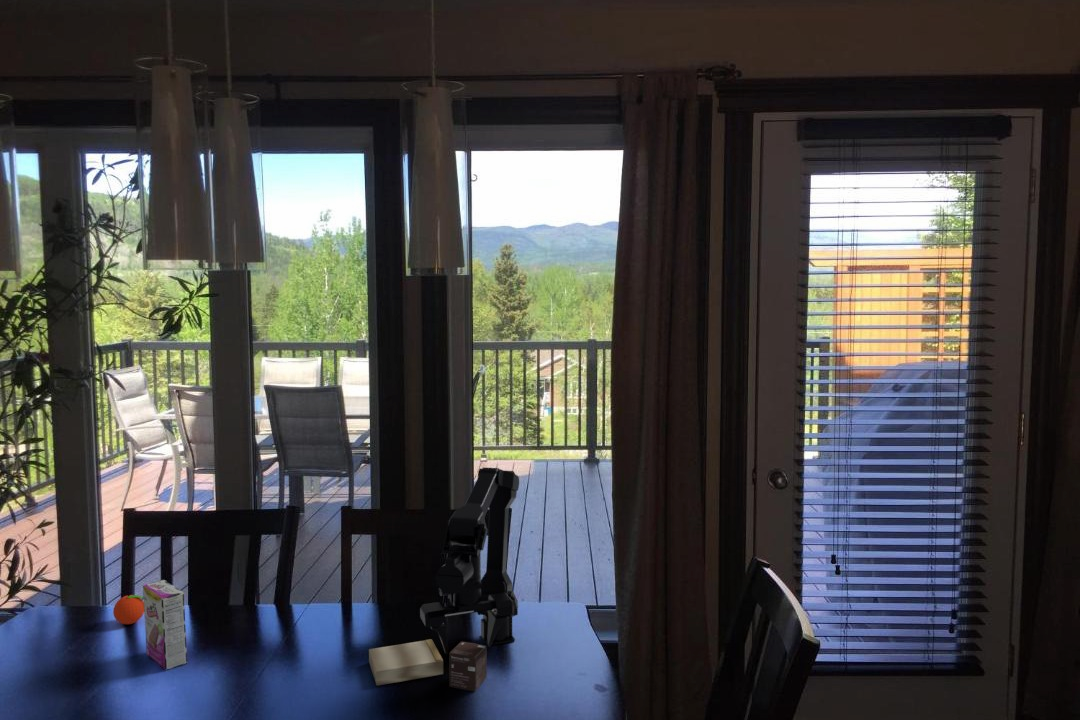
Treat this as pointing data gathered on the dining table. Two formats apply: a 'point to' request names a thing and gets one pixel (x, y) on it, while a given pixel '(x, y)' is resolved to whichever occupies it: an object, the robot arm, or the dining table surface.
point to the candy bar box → (165, 624)
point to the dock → (405, 662)
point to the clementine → (129, 609)
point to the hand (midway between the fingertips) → (467, 649)
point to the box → (467, 666)
